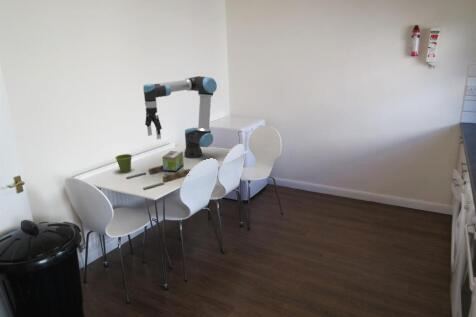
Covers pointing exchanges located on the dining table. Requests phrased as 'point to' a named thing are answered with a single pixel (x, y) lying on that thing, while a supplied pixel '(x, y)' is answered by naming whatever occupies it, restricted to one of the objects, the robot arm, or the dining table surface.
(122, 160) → the plant pot
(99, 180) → the dining table surface
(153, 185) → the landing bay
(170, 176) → the walnut chute
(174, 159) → the tea box
